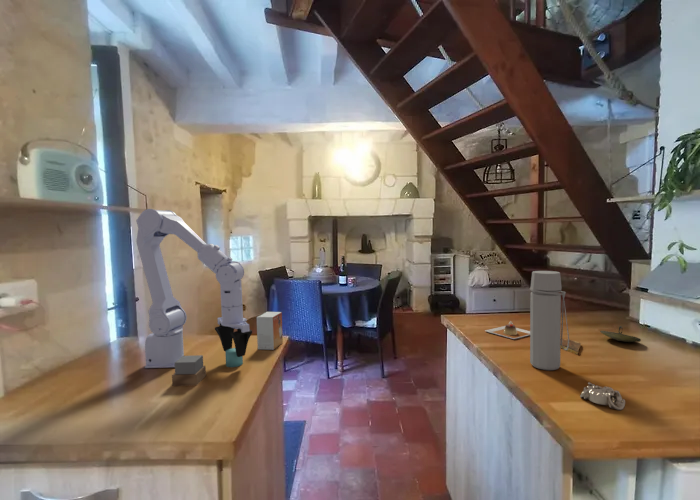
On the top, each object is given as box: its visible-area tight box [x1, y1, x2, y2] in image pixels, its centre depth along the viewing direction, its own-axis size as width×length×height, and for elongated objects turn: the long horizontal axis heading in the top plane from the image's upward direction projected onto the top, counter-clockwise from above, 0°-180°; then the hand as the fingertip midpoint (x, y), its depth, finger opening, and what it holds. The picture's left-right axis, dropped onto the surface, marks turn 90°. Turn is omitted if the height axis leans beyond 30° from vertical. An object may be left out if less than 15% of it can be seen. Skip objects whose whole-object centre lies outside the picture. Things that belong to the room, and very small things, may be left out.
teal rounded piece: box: [224, 347, 244, 368], centre depth 108 cm, size 5×5×4 cm
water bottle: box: [529, 270, 570, 371], centre depth 100 cm, size 9×8×25 cm
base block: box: [171, 365, 207, 387], centre depth 97 cm, size 6×6×3 cm
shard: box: [560, 338, 582, 355], centre depth 115 cm, size 11×8×2 cm
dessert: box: [484, 320, 530, 340], centre depth 132 cm, size 12×12×5 cm
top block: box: [174, 354, 204, 375], centre depth 96 cm, size 5×5×3 cm
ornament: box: [579, 381, 626, 411], centre depth 80 cm, size 8×7×4 cm
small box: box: [256, 311, 284, 351], centre depth 124 cm, size 8×6×10 cm
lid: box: [600, 325, 641, 343], centre depth 119 cm, size 11×10×5 cm
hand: (234, 353), depth 108 cm, fingers open, 7 cm apart
